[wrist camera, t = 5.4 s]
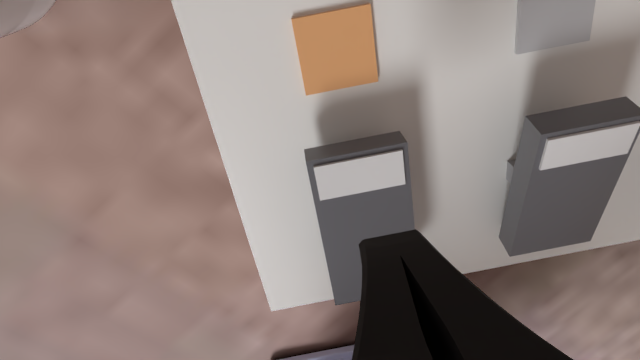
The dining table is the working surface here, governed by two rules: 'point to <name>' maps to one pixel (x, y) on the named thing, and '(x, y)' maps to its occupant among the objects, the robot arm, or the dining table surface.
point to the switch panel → (402, 111)
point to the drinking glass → (21, 14)
